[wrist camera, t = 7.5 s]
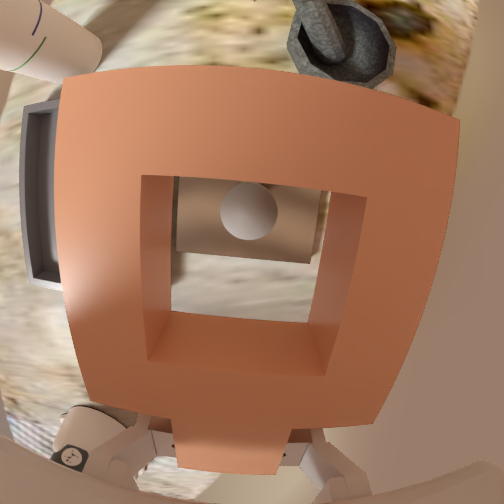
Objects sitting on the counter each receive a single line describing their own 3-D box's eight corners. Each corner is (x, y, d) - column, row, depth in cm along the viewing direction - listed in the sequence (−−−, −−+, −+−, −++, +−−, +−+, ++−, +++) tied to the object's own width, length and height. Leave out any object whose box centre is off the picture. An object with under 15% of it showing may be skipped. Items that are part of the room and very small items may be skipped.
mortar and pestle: (382, 60, 25) (439, 25, 14) (344, 121, 28) (396, 103, 16) (296, 6, 23) (317, -55, 12) (252, 64, 26) (252, 12, 14)
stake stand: (307, 259, 32) (342, 327, 19) (179, 247, 32) (133, 308, 18) (324, 129, 28) (381, 111, 15) (188, 116, 27) (139, 86, 14)
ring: (331, 424, 12) (343, 470, 10) (129, 406, 12) (111, 452, 9) (407, 126, 8) (459, 120, 6) (111, 95, 8) (63, 78, 5)
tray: (162, 292, 33) (153, 306, 30) (43, 274, 33) (29, 284, 29) (171, 95, 27) (162, 88, 23) (40, 108, 26) (24, 106, 23)
